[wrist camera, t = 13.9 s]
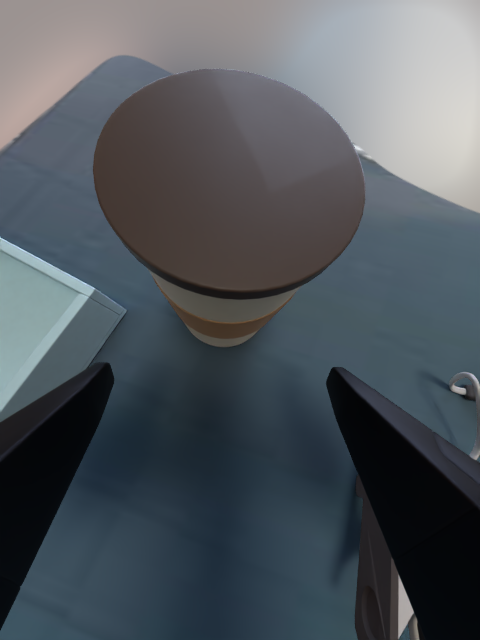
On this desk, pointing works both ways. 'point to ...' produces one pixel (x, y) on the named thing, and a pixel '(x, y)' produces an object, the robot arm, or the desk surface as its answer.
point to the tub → (45, 327)
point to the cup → (228, 194)
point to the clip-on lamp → (391, 562)
